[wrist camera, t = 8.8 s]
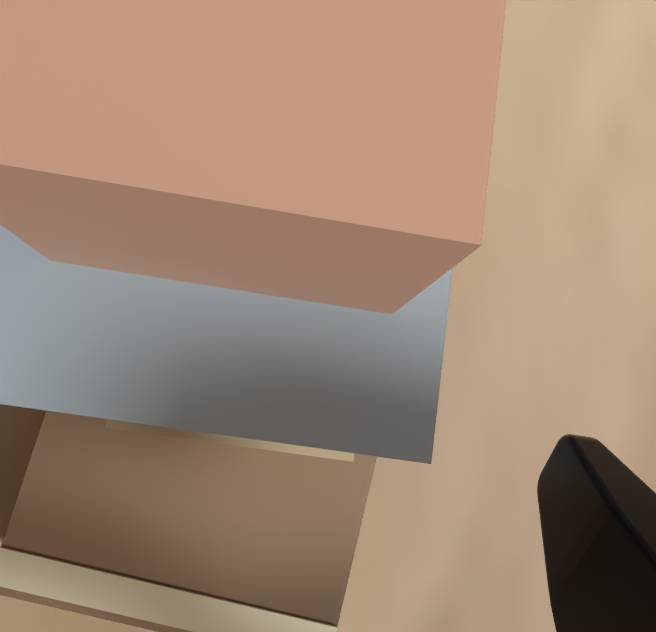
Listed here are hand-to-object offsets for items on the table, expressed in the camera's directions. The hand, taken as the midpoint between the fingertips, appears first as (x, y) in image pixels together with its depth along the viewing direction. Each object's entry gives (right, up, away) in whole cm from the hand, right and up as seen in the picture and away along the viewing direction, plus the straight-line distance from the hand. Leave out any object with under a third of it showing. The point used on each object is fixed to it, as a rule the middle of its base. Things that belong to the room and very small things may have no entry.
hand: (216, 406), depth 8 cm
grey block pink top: (0, +2, +8) cm, 9 cm away
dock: (-1, 0, +10) cm, 10 cm away
